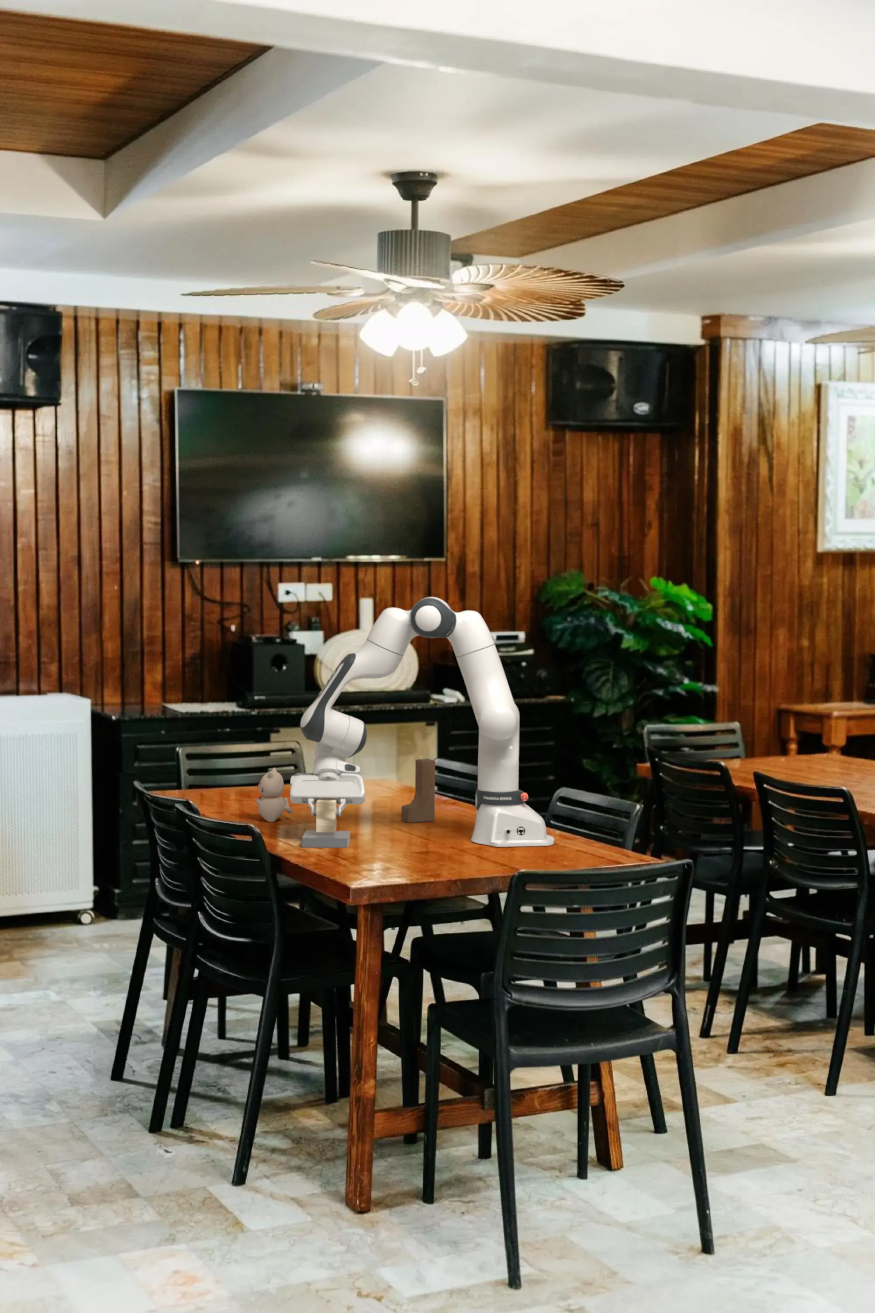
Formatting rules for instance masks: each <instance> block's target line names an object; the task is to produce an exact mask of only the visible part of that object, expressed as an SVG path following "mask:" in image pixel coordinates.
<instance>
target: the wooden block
mask: <svg viewBox="0 0 875 1313" xmlns="http://www.w3.org/2000/svg"><path fill="white" fill-rule="evenodd" d="M414 776H415V780H414V782H415V783H414V784H415V785H414V789H415V790H414V791H415V792H414V797H413V800H411V802H410V803H408V804H405V805H402V806H401V808H400V809H401V810H400V811H401V812H400V813H401V815H400V818H401V821H402V822H404V823H407V824H414V823H415V824H416V823H428V822H434V821H435V820H436V819H435V816H436V814H435V811H436V807H435V806H436V805H435V803H436V760H434V759H431V758H420V759H419V758H418V759H415V775H414Z"/></svg>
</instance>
